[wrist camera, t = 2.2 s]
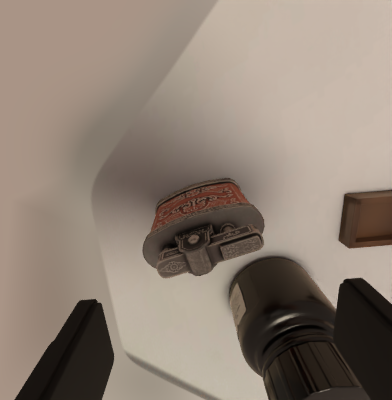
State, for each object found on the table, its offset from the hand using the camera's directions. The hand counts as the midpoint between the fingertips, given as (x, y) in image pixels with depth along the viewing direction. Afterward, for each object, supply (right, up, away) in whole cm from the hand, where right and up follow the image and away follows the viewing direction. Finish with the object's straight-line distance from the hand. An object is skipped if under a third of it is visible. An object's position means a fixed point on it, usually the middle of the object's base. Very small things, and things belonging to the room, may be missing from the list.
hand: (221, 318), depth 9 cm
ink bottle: (+7, -5, +17) cm, 19 cm away
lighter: (-1, +5, +13) cm, 14 cm away
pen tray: (+18, +3, +14) cm, 23 cm away
